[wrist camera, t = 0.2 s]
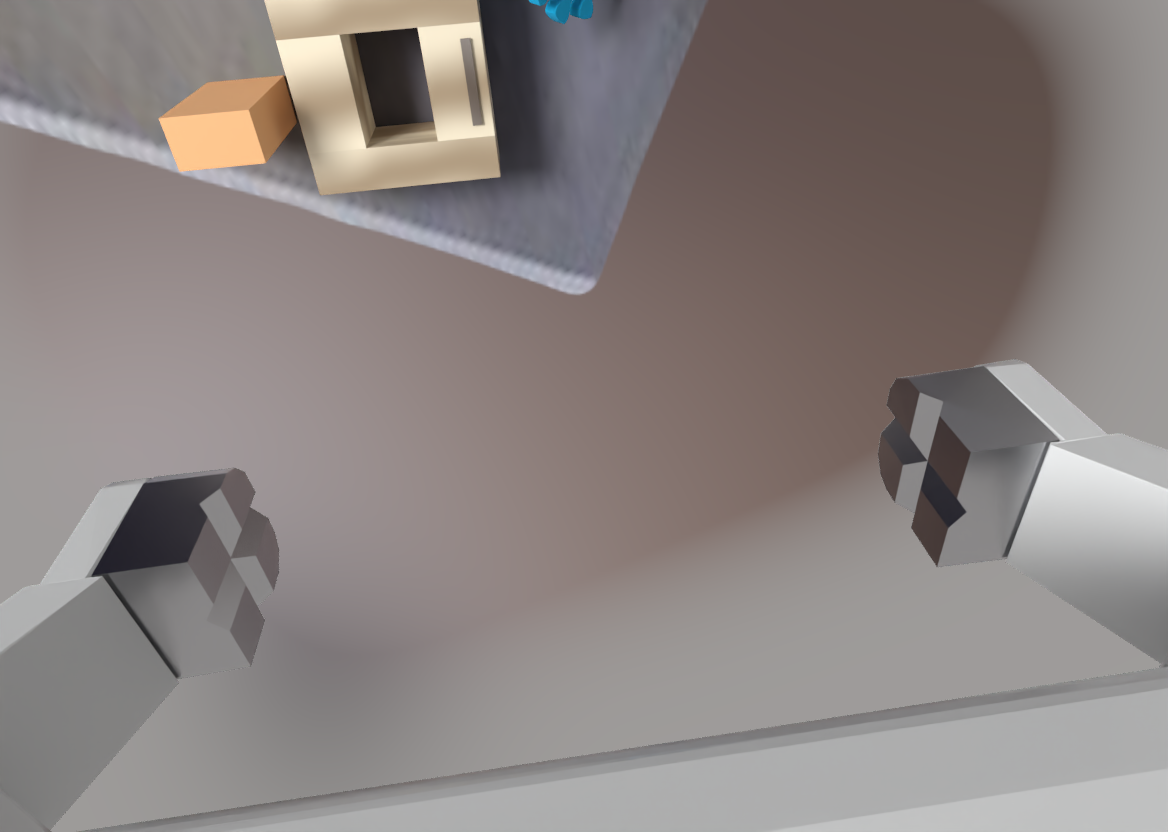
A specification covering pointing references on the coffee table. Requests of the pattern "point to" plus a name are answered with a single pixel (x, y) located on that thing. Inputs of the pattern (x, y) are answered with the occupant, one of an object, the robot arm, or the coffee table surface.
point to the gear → (566, 9)
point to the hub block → (341, 102)
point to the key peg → (229, 123)
